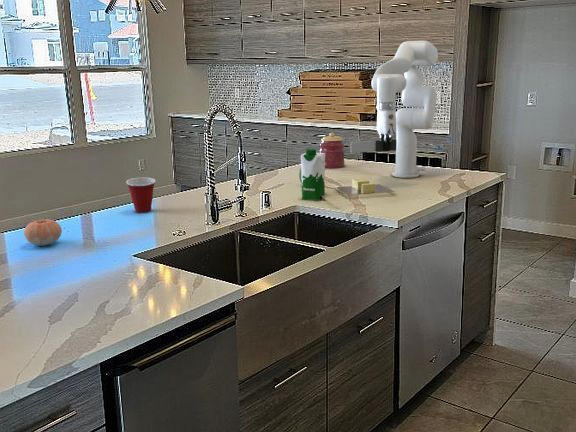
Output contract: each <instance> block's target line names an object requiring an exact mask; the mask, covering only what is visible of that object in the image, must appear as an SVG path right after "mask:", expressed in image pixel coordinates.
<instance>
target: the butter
mask: <svg viewBox="0 0 576 432" xmlns="http://www.w3.org/2000/svg"><path fill="white" fill-rule="evenodd" d="M369 183H370V180H367V179H365V178H363V177H362V178H351V186H352V187H353V188H354V189H356V190H362V184H369Z"/></svg>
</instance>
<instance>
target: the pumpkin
mask: <svg viewBox="0 0 576 432" xmlns="http://www.w3.org/2000/svg"><path fill="white" fill-rule="evenodd" d="M62 229H63V228H62V226H61V225H60V223H58V222H57V221H55V220H53V219H49V218H47V219H46V218H43V219H42V218H41V219H36V220H33V221H31V222H30V223H28V224H27V225H26V226H25V228H24V231H23V236H24V238H25V240H26V241H27V242H28V243H29V244H31V245H34V246H39V247H44V246H49V245H52V244H55V243H56V242H57V241H58V240H59V239H60V238H61V237H62V231H63V230H62Z"/></svg>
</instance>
